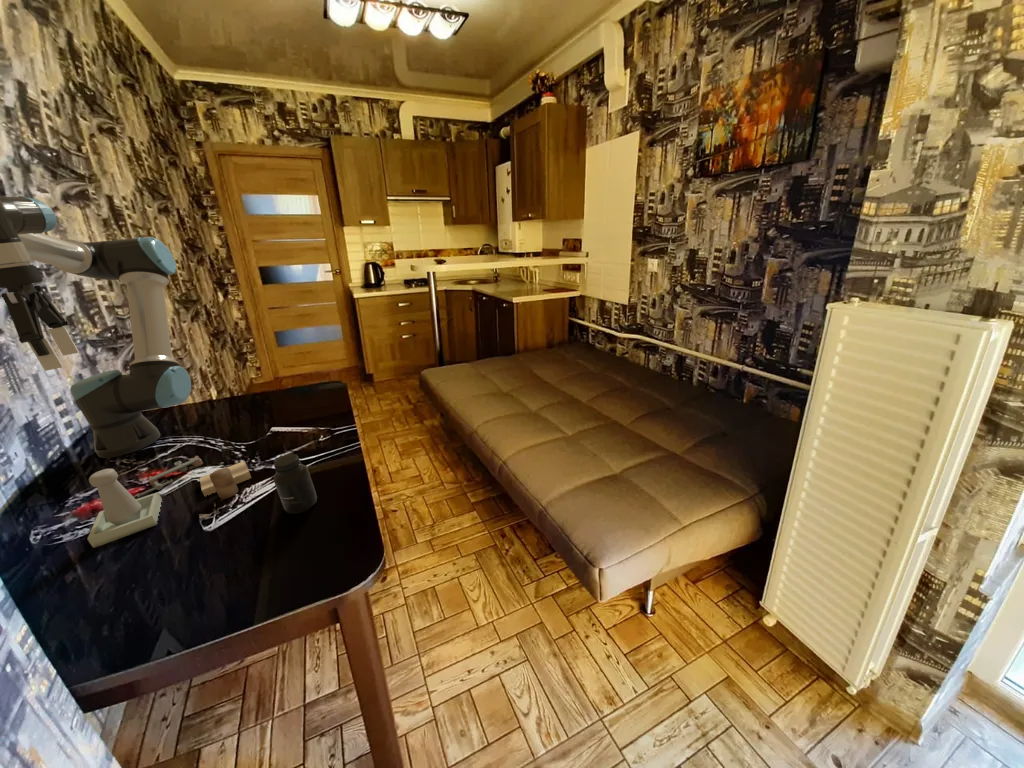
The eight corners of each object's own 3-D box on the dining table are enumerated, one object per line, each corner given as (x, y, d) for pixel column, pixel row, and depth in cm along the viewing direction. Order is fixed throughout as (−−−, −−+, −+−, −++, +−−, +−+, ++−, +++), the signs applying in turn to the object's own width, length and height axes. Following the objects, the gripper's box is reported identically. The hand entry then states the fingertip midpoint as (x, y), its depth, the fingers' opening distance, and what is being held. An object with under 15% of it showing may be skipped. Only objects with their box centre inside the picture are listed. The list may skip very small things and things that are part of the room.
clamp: (193, 452, 115) (206, 462, 109) (196, 458, 115) (209, 469, 110) (125, 481, 104) (135, 493, 98) (129, 488, 105) (139, 501, 99)
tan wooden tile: (203, 485, 103) (199, 477, 102) (247, 468, 108) (244, 460, 107) (205, 498, 98) (201, 490, 97) (252, 479, 103) (248, 471, 102)
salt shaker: (126, 513, 93) (98, 466, 88) (152, 509, 93) (125, 462, 88) (105, 531, 88) (74, 482, 83) (132, 528, 88) (102, 479, 83)
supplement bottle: (285, 519, 87) (266, 473, 82) (285, 501, 93) (267, 457, 88) (319, 507, 90) (303, 462, 85) (317, 490, 95) (302, 447, 91)
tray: (104, 520, 92) (99, 511, 91) (162, 500, 98) (158, 492, 97) (93, 548, 84) (87, 539, 83) (156, 524, 89) (151, 515, 88)
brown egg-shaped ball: (219, 492, 98) (209, 472, 96) (238, 486, 100) (229, 465, 98) (219, 501, 95) (209, 480, 93) (238, 493, 97) (229, 473, 95)
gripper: (5, 264, 92) (56, 352, 100) (-49, 274, 73) (20, 381, 81) (51, 259, 95) (96, 344, 104) (10, 267, 76) (70, 370, 85)
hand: (63, 361), depth 93 cm, fingers open, 13 cm apart
